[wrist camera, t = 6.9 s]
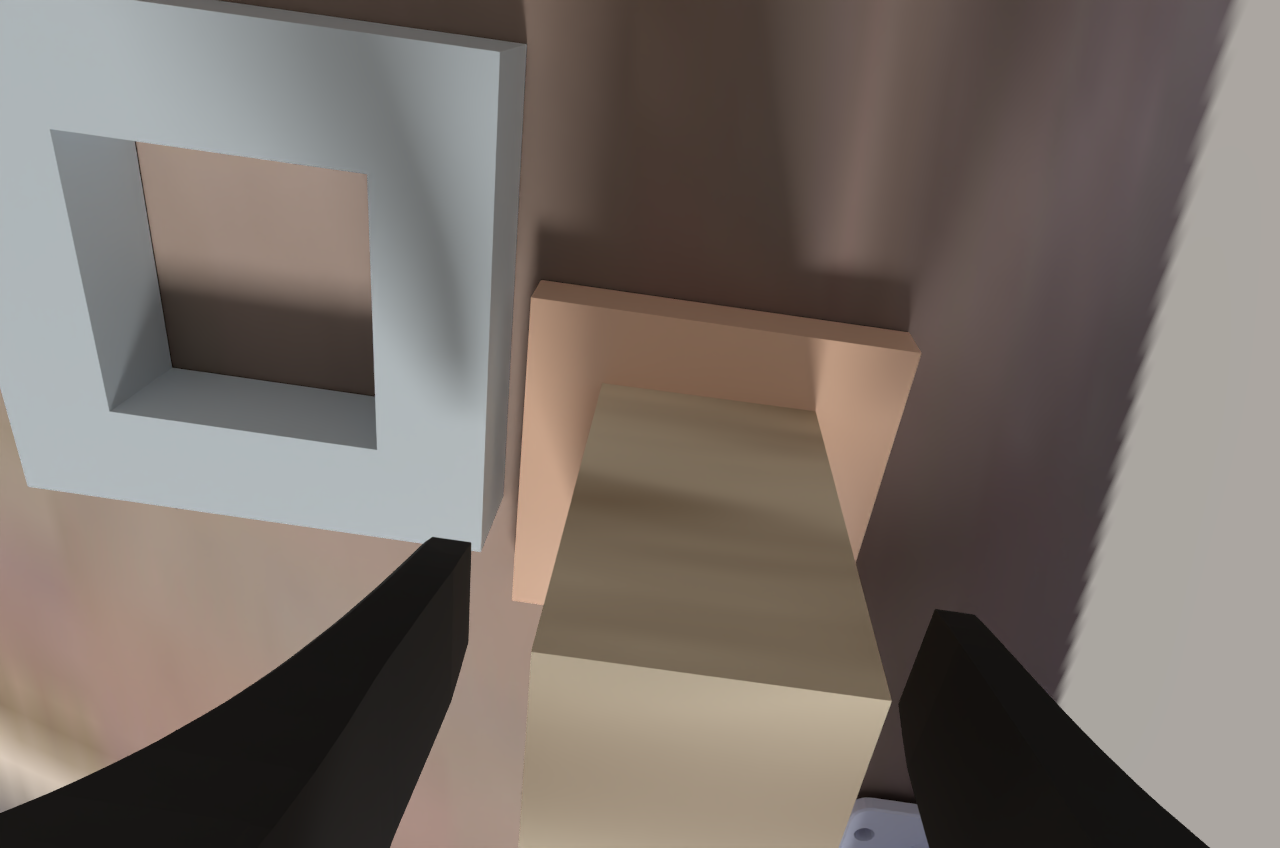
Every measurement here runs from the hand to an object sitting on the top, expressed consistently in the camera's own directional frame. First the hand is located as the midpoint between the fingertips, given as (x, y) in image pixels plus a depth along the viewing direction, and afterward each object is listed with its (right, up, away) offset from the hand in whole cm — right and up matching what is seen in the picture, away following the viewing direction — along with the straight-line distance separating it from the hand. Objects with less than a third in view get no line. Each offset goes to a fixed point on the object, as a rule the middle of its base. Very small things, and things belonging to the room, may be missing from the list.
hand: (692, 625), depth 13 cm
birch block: (0, +2, +3) cm, 4 cm away
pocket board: (-8, +6, +3) cm, 10 cm away
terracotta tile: (0, +2, +4) cm, 5 cm away
